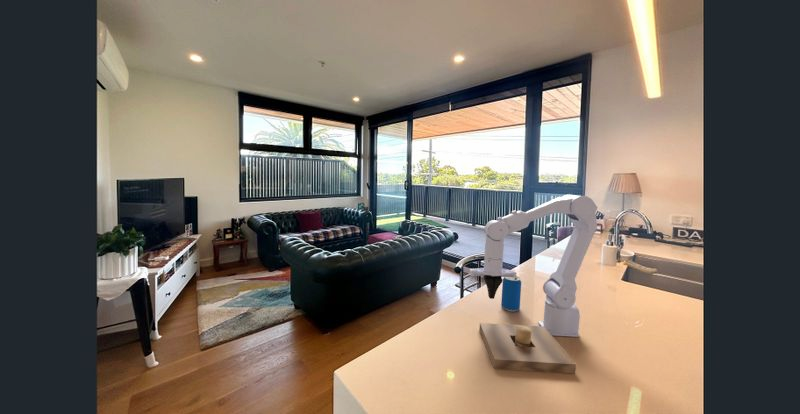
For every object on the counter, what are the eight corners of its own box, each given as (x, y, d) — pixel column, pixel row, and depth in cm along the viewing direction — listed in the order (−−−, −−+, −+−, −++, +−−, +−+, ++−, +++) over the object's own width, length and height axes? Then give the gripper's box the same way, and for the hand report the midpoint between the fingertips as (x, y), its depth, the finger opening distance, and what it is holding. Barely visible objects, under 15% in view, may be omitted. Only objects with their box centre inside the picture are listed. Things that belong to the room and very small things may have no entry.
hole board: (543, 333, 88) (544, 326, 88) (575, 373, 70) (576, 364, 70) (479, 330, 89) (479, 322, 89) (494, 368, 72) (494, 359, 71)
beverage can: (521, 313, 101) (523, 281, 100) (502, 311, 103) (504, 279, 101) (517, 305, 108) (519, 275, 107) (499, 303, 109) (501, 273, 108)
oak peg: (524, 344, 82) (526, 325, 82) (532, 353, 78) (534, 333, 78) (511, 345, 82) (513, 325, 81) (519, 354, 78) (521, 333, 77)
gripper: (512, 254, 94) (509, 293, 96) (468, 253, 95) (466, 291, 97) (519, 261, 87) (516, 302, 89) (472, 259, 88) (470, 300, 90)
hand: (491, 297), depth 92 cm, fingers closed
